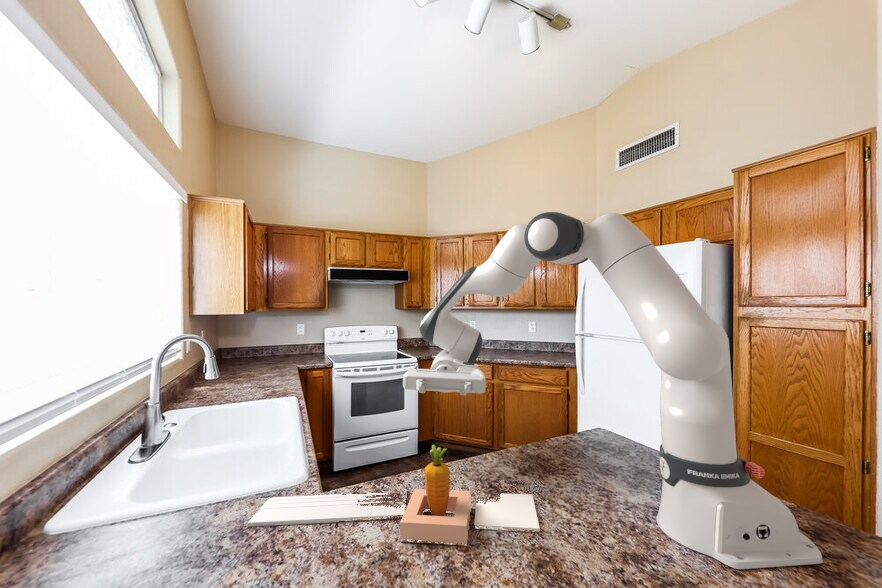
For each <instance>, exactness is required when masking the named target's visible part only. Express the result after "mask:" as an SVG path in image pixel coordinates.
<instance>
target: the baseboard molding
mask: <svg viewBox="0 0 882 588" xmlns="http://www.w3.org/2000/svg"><path fill="white" fill-rule="evenodd" d="M406 491H409V490H408V487H407V490H406ZM385 492H386V493H371V492H365V493H366V494H351V493H345V494H346V495H342V494H343V493H338V494H337V493H335V494H334V493H333V494H316V495H315V494H314V495H294V496H275V497H273V496H272V497H269V498H267V500H266V501H265V503H263V505H262V506H261V507H260V508H259V509H258V510H257V511H256V512H255V514H254V515H253V516H252V517H251V518H250V519H249V521H248V522H247V527H248V528H249V527H251V528H252V527H268V526H270V527H271V526H273V527H274V526H289V525H290V526H293V525H307V524H309V525H310V524H312V525H313V524H328V523H329V524H331V523H332V524H333V523H340V522H339V521H345V520H351V519H359V518H367V517H384V516H397V515H404V512H405V509H406V508H407V506H406V504H405V505H404V504H403V505H402V506H401V507H400V506H398V507H397V506H396V507H397V509H396V507H395V508H394V507H392V506H391V507H390V505H389V506H388V505H387V506H388V507H387V506H386V505H384V506H383V505H381V506H374V505H375V504H374V505H373V506H372V505H371V503H380V502H381V501H380V502H379V501H376V502H358V500H360V501H363V500H365V499H366V500H368V499H378V498H379V499H380V498H383V497H376V498H369V497H370V496H371V497H372V495H375V496H376V495H385V494H386V495H387V494H388V492H389V494H390V492H391V491H385ZM363 496H364V497H363ZM365 496H366V497H367V496H369V497H368V498H365ZM384 498H385V497H384ZM386 498H387V497H386ZM388 498H391V497H388ZM406 498H407V493H406ZM407 499H408V498H407ZM369 501H370V500H369ZM403 501H404V500H403ZM382 502H383V501H382ZM382 502H381V503H382ZM384 502H385V501H384ZM387 502H388V501H387ZM389 502H390V501H389ZM391 502H392V501H391ZM369 503H370V504H369ZM357 504H358V505H357ZM360 504H369V505H368V506H367V505H366V506H361V505H360ZM385 506H386V507H385ZM394 506H395V505H394ZM403 506H404V507H403ZM399 507H400V508H399ZM402 507H403V508H402ZM405 507H406V508H405Z"/></svg>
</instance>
